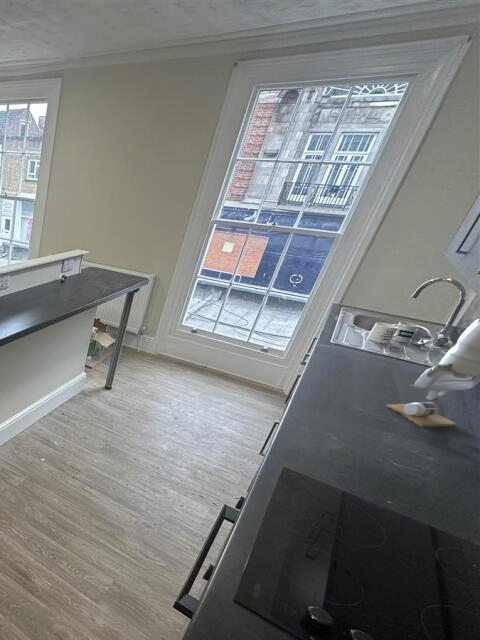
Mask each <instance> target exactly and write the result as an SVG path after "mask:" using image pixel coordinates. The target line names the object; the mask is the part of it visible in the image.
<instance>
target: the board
mask: <svg viewBox="0 0 480 640" xmlns="http://www.w3.org/2000/svg"><path fill="white" fill-rule="evenodd" d="M407 404H408V403H394V404H393V403H392V404H386V406H387V407H386V408H387V409H389V408H391V409H393V410H394V411H393V410H392V411H393V412H394V413H396V412H398V413H400V414H401V415H400V414H399V415H400V416H401V417H403V418H405V417H406V418H405V419H407V418H408V419H407V420H408V421H409V422H410V421H411V422H412V421H413V422H412V423H414V424H416V425H417V426H419V427H421V428H431V427H433V428H435V427H454V426H455V425H457V423H456V422H454V421H452V420H450V419H448V418H446V417H445V416H443V415H440V414H439V413H438V412H437V413H436V414H435V415H429V416H414V415H409V414H407V413H406V412H405V411H404V407H405V406H406V405H407ZM388 407H389V408H388ZM391 409H390V410H391ZM395 411H396V412H395ZM398 413H397V414H398ZM402 415H403V416H402Z"/></svg>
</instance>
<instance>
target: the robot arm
mask: <svg viewBox="0 0 480 640" xmlns="http://www.w3.org/2000/svg"><path fill="white" fill-rule="evenodd" d="M479 382H480V317H479V318H478V319H476V320H474V321H473V322H472V323H471V324H470V325H469V326H468V327H467V328H466V329H465V330H464V331H463V333H461V335H460V336H459V337H458V338H457V341H456V343H455V345H454V346H453V347H451V348H449V350H448V351H447V352H446V354H445V355H443V357H442V358H441V360H440V361H439V362H438V364H437V365H435V366H431V367H429V368H427V369H426V370H425V371H424V372H423V373H422V374H421V375H420V376H419V377H418V378H417V380H415V382H414V387H416V388H417V389H419V390H422V391H424V392H428V394H427V395H426V397H425V399H426V400H429V401H439V400H440V399H441V398H442V397H443V396H445V395H447V394H448V393H449V392H450V391H468V390H471V389H472V388H474V387H475V386H476V385H477V384H478V383H479Z"/></svg>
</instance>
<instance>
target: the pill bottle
mask: <svg viewBox="0 0 480 640" xmlns="http://www.w3.org/2000/svg"><path fill="white" fill-rule="evenodd" d="M406 404H407V405H406V406H405V407H404V411H405V412H406V413H407V414H409V415H414V416H429V415H435V414H436V413H437V414H438V412H439V406H438V404H436V403H435V402H431V401H420V402H419V401H418V402H411V403H406Z"/></svg>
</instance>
